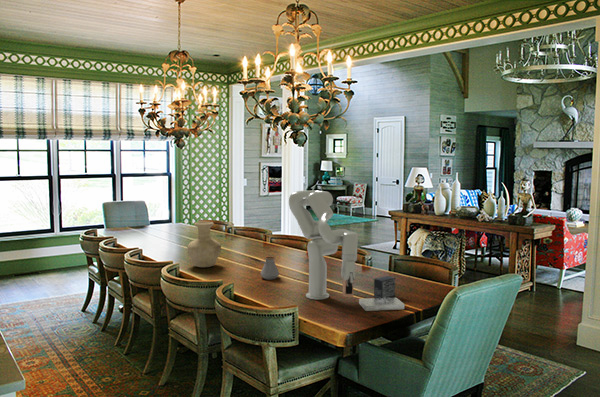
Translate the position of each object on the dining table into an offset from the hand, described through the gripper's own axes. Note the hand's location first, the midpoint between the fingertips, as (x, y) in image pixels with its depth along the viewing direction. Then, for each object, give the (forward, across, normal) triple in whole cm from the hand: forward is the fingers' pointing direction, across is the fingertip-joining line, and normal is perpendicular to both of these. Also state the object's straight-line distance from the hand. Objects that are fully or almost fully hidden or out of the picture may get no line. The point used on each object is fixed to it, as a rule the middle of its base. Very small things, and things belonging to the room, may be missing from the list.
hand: (347, 291), depth 247 cm
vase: (+13, -99, -74) cm, 124 cm away
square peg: (+2, 0, 0) cm, 2 cm away
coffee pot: (+11, -60, -37) cm, 71 cm away
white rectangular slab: (+8, +1, +18) cm, 19 cm away
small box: (+8, -15, +25) cm, 30 cm away
